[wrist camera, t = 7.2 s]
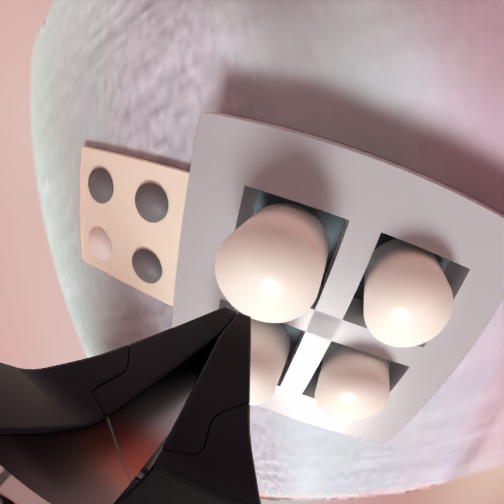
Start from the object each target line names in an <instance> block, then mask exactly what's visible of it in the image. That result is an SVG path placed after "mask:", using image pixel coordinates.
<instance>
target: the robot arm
mask: <svg viewBox="0 0 504 504" xmlns="http://www.w3.org/2000/svg"><path fill="white" fill-rule="evenodd" d="M251 322H252V319H251V317H250V316H248V315H245V314H243V313H237V311H235V310H233V309H230V308H228V307H222V308H220V309H217V310H215V311H213V312H210V313H208V314H205V315H203V316H200V317H198V318H195V319H193V320H191V321H188V322H186V323H183V324H181V325H178V326H176V327H173V328H171V329H168V330H165V331H163V332H160V333H158V334H155V335H153V336H150V337H148V338H145V339H142V340H140V341H137V342H134V343H132V344H130V347H129V345H126V346H124V347H121V348H118V349H115V350H113V351H110V352H107V353H104V354H101V355H97V356H93V357H90V358H86V359H82V360H78V361H74V362H69V363H65V364H61V365H56V366H52V367H47V368H42V369H21V368H16V367H13V366H10V365H7V364H3V363H0V504H261V501H260V496H259V491H258V485H257V479H256V473H255V467H254V461H253V454H252V446H251V437H250V404H249V403H250V370H251Z"/></svg>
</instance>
